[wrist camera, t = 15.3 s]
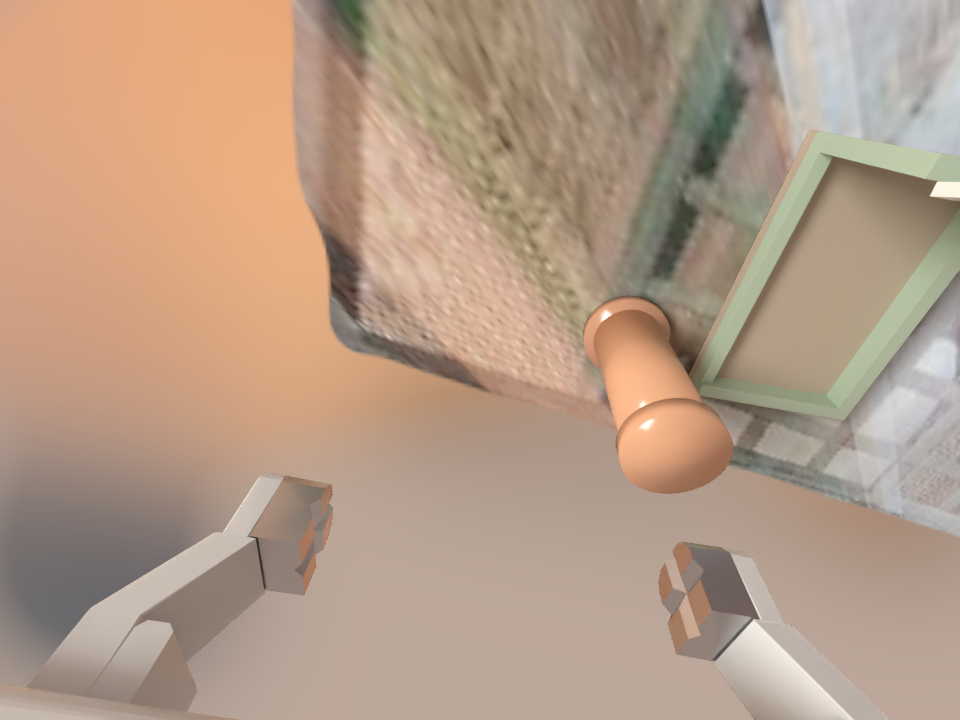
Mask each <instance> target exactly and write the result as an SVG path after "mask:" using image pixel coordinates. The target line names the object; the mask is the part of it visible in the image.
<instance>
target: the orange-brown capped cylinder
mask: <svg viewBox="0 0 960 720" xmlns="http://www.w3.org/2000/svg"><path fill="white" fill-rule="evenodd" d="M594 349H595V352H596V356H597V359H598V363H599V366H600V370H601V373H602V377H603V381H604V384H605V388H606V391H607V395H608V398H609V402H610V405H611V409H612V412H613V416H614V420H615V423H616V427H617V430H618V433H617V437H616V448H617V452H618V456H619V460H620V464H621V467H622V470H623V472H624V474H625V476H626V477H627V478H628V479H629V480H630V481H631V482H632V483H633V484H635V485H637V486H638V487H640V488H642V489H645V490H648V491H651V492H656V493H665V494H668V493H669V494H672V493H680V492H686V491H690V490H694V489H697V488H699V487H701V486H703V485H705V484H707V483H709V482H711V481H712V480H714V479H715V478H716V477H718V476H719V475H720V474H721V473H722V472H723V471H724V470H725V469H726V467H727V466H728V464H729V462H730V460H731V458H732V455H733V441H732V438H731V436H730V434H729V432H728V431H727V429H726V427H725V425H724V424H723V422H722V420H721V419H720V417H719V416H718V414H717V413H716V412H715V411H714V410H713V409H712V408H710V407H709V406H707V405H706V404H704V403H703V401H702V399H701V397H700V396H699V394H698V392H697V390H696V388H695V387H694V385H693V383H692V381H691V380H690V378H689V376H688V374H687V373H686V371H685V369H684V367H683V366H682V364H681V362H680V360H679V359H678V357H677V355H676V353H675V352H674V350H673V348H672V346H671V345H670V343H669V341H668V339H667V338H666V336H665V334H664V332H663V330H662V329H661V327H660V325H659V323H658V322H657V321H656V319H655V318H654V317H653V316H651V315H650V314H648V313H646V312H643V311H640V310H623V311H620V312H617V313H614V314H612V315H611V316H609V317H607V318H606V319H605V320H604V321H603V322H602V323H601V324H600V325H599V327H598V328H597V330H596V332H595V335H594Z"/></svg>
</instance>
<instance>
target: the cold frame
mask: <svg viewBox="0 0 960 720" xmlns="http://www.w3.org/2000/svg"><path fill="white" fill-rule="evenodd" d="M937 182H960V157H957V156H952V155H947V154H941V153H936V152H930V151H925V150H919V149H913V148H908V147H902V146H897V145H891V144H886V143H880V142H875V141H869V140H863V139H858V138H852V137H847V136H841V135H836V134H830V133H825V132H819V131H814V130H809V132H808V134H807V136H806V138H805V140H804V142H803V144H802V146H801V148H800V150H799V152H798V154H797V156H796V158H795V160H794V162H793V164H792V166H791V168H790V170H789V172H788V174H787V176H786V178H785V180H784V182H783V184H782V187H781V189H780V191H779V193H778V195H777V197H776V199H775V201H774V203H773V205H772V207H771V209H770V211H769V213H768V215H767V217H766V219H765V221H764V223H763V225H762V227H761V229H760V231H759V233H758V235H757V237H756V239H755V241H754V243H753V245H752V247H751V249H750V251H749V253H748V255H747V257H746V259H745V261H744V263H743V265H742V267H741V269H740V272H739V274H738V276H737V278H736V280H735V282H734V284H733V286H732V288H731V290H730V292H729V294H728V296H727V298H726V300H725V302H724V304H723V306H722V308H721V310H720V312H719V314H718V316H717V318H716V320H715V322H714V324H713V326H712V328H711V330H710V332H709V334H708V336H707V338H706V340H705V342H704V344H703V346H702V348H701V350H700V352H699V354H698V357H697V359H696V361H695V363H694V365H693V367H692V369H691V371H690V373H689V375H688V376H689V378H690V380H691V381H692V383H693V385H694V387H695V388H696V390H697V392H698V394H699V396H704V397H710V398H715V399H721V400H727V401H733V402H739V403H745V404H750V405H756V406H762V407H768V408H774V409H779V410H785V411H791V412H797V413H803V414H809V415H814V416H820V417H826V418H832V419H838V420H843V421H844V420H845V418H846V417H847V416H848V414H849V413H850V412H851V410H852V409H853V408H854V407H855V405H856V404H857V403H858V401H859V400H860V399H861V397H862V396H863V395H864V394H865V392H866V391H867V390H868V388H869V387H870V386H871V384H872V383H873V382H874V381H875V379H876V378H877V377H878V375H879V374H880V373H881V371H882V370H883V369H884V368H885V366H886V365H887V364H888V362H889V361H890V360H891V358H892V357H893V356H894V355H895V353H896V352H897V351H898V349H899V348H900V347H901V346H902V344H903V343H904V342H905V340H906V339H907V338H908V336H909V335H910V334H911V333H912V331H913V330H914V329H915V327H916V326H917V325H918V323H919V322H920V321H921V320H922V318H923V317H924V316H925V314H926V313H927V312H928V310H929V309H930V308H931V307H932V305H933V304H934V303H935V301H936V300H937V299H938V297H939V296H940V295H941V294H942V292H943V291H944V290H945V288H946V287H947V286H948V284H949V283H950V282H951V281H952V279H953V278H954V277H955V275H956V274H957V273H958V271H959V270H960V201H952V200H947V199H942V198H936V197H931V196H930V195H931V193H932V191H933V189H934V187H935V185H936V183H937Z"/></svg>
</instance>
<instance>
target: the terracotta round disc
mask: <svg viewBox="0 0 960 720" xmlns="http://www.w3.org/2000/svg"><path fill="white" fill-rule="evenodd" d="M623 310H640V311H643V312H646V313H648V314H650V315H651V316H653V317H654V318H655V319H656V321H657V322H658V323H659V325H660V327H661V329H662V330H663V332H664V334H665V336H666V338H667V339H668V341H669V340H670V326H669V323H668V321H667V319H666V317H665V315H664V314H663V312H662V311H661V309H660V308H659V307H658V306H657V305H656V304H654V303H653V302H651V301H650V300H648V299H645V298H642V297H638V296H622V297H618V298H614V299H611V300H609V301H607V302H605V303H603V304H602V305H600V306H599V307H598V308H597V309H595V310H594V311H593V313H592V314H591V315H590V316H589V318H588V320H587V321H586V324H585V326H584V330H583V342H584V347H585V351H586V353H587V356H588V357H589V359H590V360H591V362H592V363H593V364H594V365H595V366H597V367H598V368H600V366H599V363H598V359H597V356H596V352H595V349H594V335H595V332H596V330H597V328H598V327H599V325H600V324H601V323H602V322H603V321H604V320H605V319H606V318H607V317H609V316H611V315H612V314H614V313H617V312H620V311H623Z"/></svg>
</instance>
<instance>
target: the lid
mask: <svg viewBox="0 0 960 720" xmlns="http://www.w3.org/2000/svg"><path fill="white" fill-rule="evenodd" d="M930 196H931V197H936V198H942V199H947V200H952V201H960V182H937V183H936V185H935V187H934V189H933V191H932V193H931V195H930Z"/></svg>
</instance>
